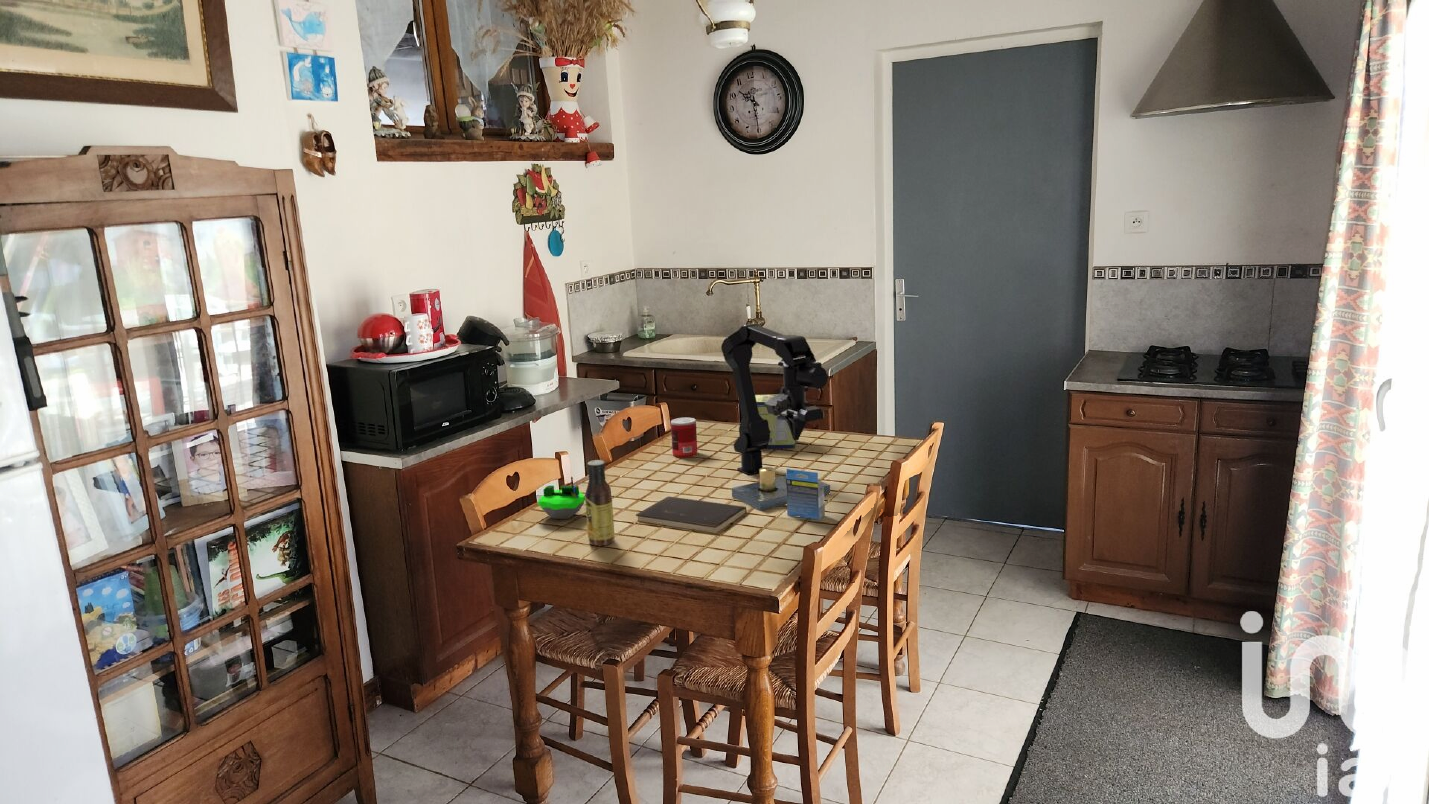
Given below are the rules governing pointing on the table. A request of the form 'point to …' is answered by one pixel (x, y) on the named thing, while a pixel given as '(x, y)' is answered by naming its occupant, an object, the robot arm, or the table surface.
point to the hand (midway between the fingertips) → (795, 440)
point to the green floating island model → (562, 501)
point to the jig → (767, 494)
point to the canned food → (684, 437)
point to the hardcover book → (691, 514)
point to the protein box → (775, 426)
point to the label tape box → (804, 495)
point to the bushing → (767, 479)
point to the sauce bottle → (599, 505)
